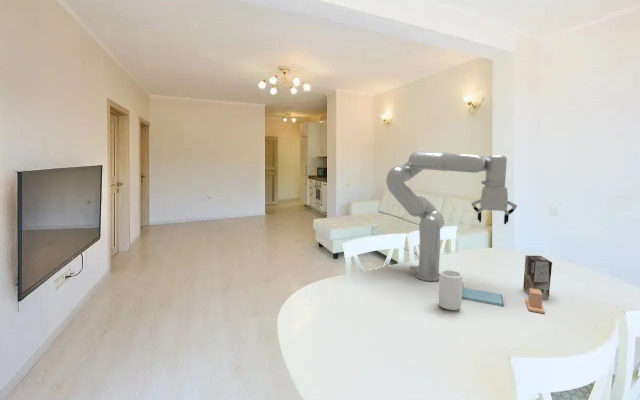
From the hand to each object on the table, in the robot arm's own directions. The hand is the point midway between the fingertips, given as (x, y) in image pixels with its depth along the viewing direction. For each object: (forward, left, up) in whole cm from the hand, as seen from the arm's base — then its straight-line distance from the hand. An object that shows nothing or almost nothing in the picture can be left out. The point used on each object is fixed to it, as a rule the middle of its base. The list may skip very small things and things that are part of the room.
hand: (492, 222), depth 133 cm
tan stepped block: (+16, -12, -30) cm, 36 cm away
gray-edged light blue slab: (-4, -12, -30) cm, 33 cm away
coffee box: (+18, +2, -31) cm, 35 cm away
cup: (-14, -28, -31) cm, 44 cm away
